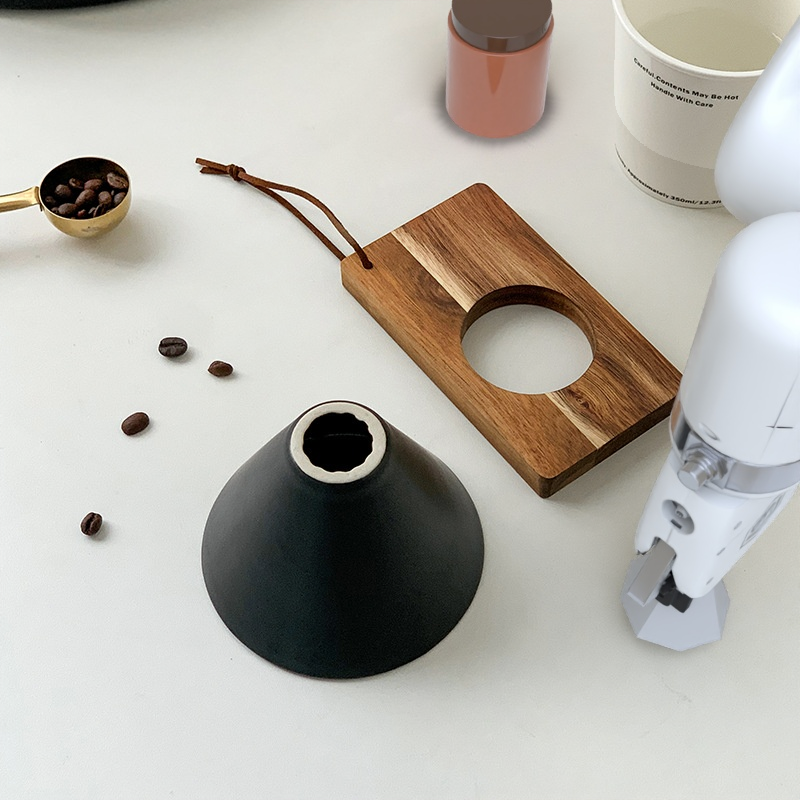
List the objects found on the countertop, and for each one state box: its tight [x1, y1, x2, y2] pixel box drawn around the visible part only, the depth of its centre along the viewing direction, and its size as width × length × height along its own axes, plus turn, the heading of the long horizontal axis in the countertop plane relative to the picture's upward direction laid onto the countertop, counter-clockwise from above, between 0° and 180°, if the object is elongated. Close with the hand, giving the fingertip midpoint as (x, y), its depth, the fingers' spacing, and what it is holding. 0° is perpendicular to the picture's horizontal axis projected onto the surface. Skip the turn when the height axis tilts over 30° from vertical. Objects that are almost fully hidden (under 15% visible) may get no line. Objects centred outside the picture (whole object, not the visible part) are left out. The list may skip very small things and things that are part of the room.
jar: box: [445, 0, 555, 139], centre depth 104 cm, size 9×9×12 cm
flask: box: [619, 551, 731, 652], centre depth 75 cm, size 7×7×10 cm
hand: (686, 571), depth 75 cm, fingers closed on flask, 3 cm apart
